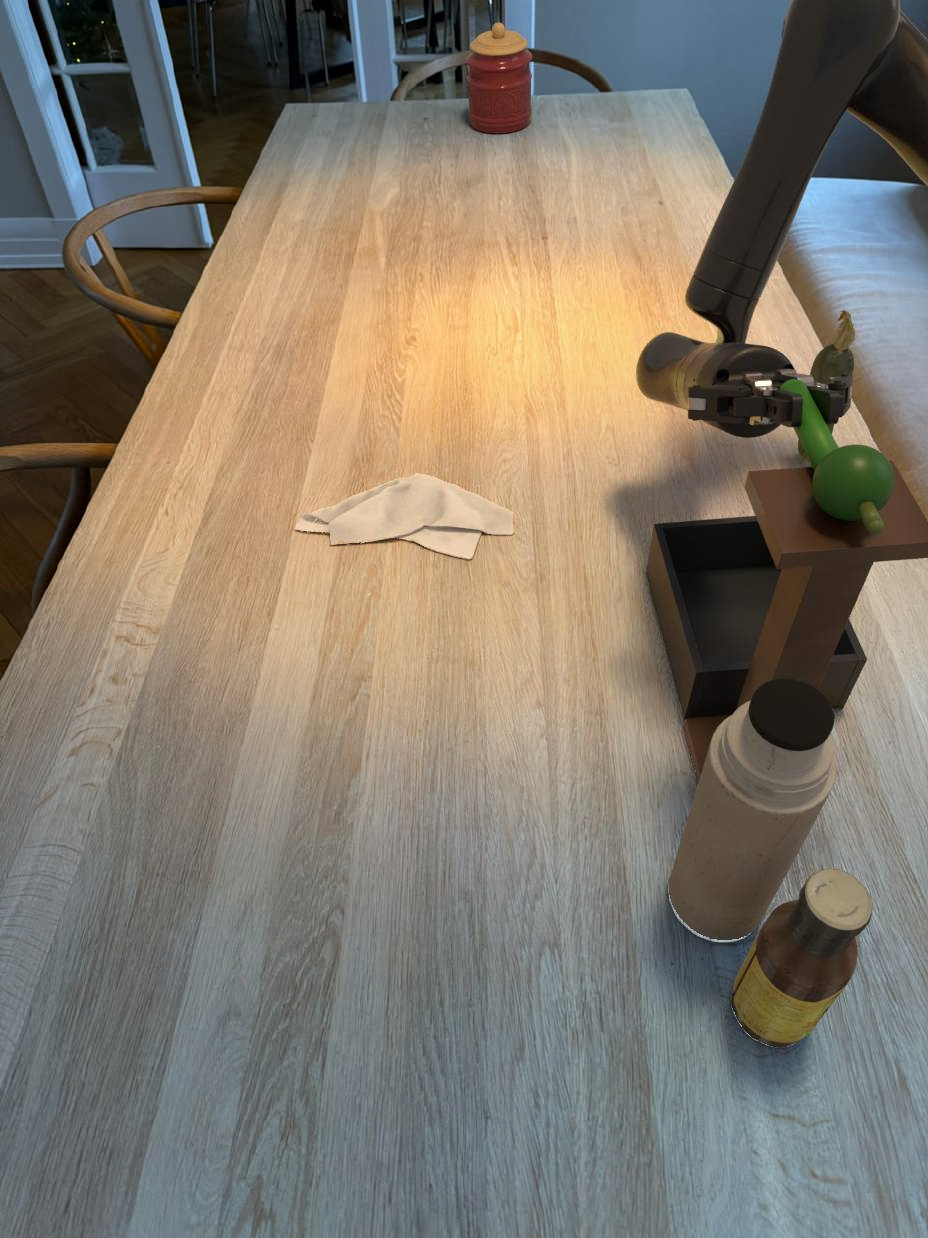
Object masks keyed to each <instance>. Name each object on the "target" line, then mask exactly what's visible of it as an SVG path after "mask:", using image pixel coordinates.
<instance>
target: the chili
mask: <svg viewBox="0 0 928 1238" xmlns="http://www.w3.org/2000/svg"><path fill="white" fill-rule="evenodd" d="M780 390H785V391H789V392H793V393H797V394H801V395H802V397H803V411H802V423H801V426H800V427H792V428H793V430H794V433H795V435H796V437H797V438H798V439H799V441H800V443H801V445H802V447H803V449H804V451H805V453H806V455H807V457H808V459H809V460H808V461H809V463H810V465H811V467H813V469H814V476H813V480H812V489H813V494H814V497H815V500H816V502H817V503H818V505H819V506H820V507H821V508H822V509H823V510H824V511H825V512H826V513H827V514H829V515H830V516H832V517H834V518H837V519H840V520H846V521H856V520H861V519H862V521H863V523H864V525H865V527H866V529H867V531H868V532H869V533H870V534H874V535H877V534H880V533H881V532H882V531H883V530H884V522H883V520H882V519H881V517H880V515H879V513H878V511H880V510H881V509H882V508H883V507H884V506H885V505H886V503H887V502H888V501H889V499H890V497H891V495H892V493H893V489H894V483H895V478H894V472H893V468H892V466H891V464H890V462H889V461H890V460H889V459H888V458H887V457H886V456H885V455H884V454H883V453H882V452H881V451H879V450H878V449H876V448H874V447H871V446H869V445H864V444H847V445H843V446H841V447H840V446H839V445H838V444H837V441H836V440H835V438H834V436H833V433H832V434H831V432H830V430H829V428H828V426H827V425H826V423H825V421H824V419H823V417H822V415H821V413H820V411H819V409H818V407H817V406H816V404H815V402H814V400H813V398H812V396H811V394H810V392H809V390H808V388H807V387H806V385H805V384H804V383H803V382H802V381H800V380H797V379H791V380H788V381H786V382H785V383H784V384H783V385H782V386H781V387H780Z"/></svg>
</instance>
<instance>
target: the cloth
mask: <svg viewBox="0 0 928 1238" xmlns="http://www.w3.org/2000/svg"><path fill="white" fill-rule="evenodd" d="M514 513H515V512H514V511H512V510H510V509H508V508H506V507H504V506H501V505H499V504H497V503H495V502H492V501H491V500H488V499H486V498H485V497H482V496H481V495H479V494H477V493H475V492H472V491H469V490H467V489H465V488H463V487H461V486H458V485H457V484H454V483H453V482H451V483H449V482H447V481H445V480H442V479H440V478H438V477H436V476H433V475H430V474H425V473H419V472H415V473H414V474H411V476H409V477H396V478H394V479H391V480H389V481H387V482H384V483H382V484H380V485H377V486H375V487H372V488H369V489H367V490H365V491H362V492H359V493H355V494H353V495H351V496H349V497H347V498H345V499H344V500H342V501H339V502H338V503H336V504H334V505H333V506H328V507H327V506H325V507H322V508H318V509H317V510H314V511H312V512H305V513H303V514H302V515H300V516H299V518H298V520H297V522H296V525H295V526H294V529H295V531H297V530H300V531H299V532H303V531H307V532H306V533H309V532H308V531H312V532H313V531H317V532H318V531H320V532H322V533H321V534H329V542H330V541H331V542H333V543H334V541H336V540H339V541H341V540H343V541H344V542H345V543H346V542H347V541H348V542H349V543H350V542H354V541H355V542H357V543H359V542H361V543H360V544H365V542H366V543H372V542H378V541H383V540H388V539H395V538H397V539H396V540H404V541H407V542H414V543H416V544H417V545H419V544H420V546H421V545H422V546H421V547H423V546H424V547H423V548H425V547H426V548H425V549H428V550H431V551H433V552H436V553H440V554H443V555H447V556H451V557H454V558H458V559H464V560H469V561H470V560H472V559H473V558H474V555H475V553H476V549H477V546H478V544H479V541H480V538H481V536H482V534H483V533H484V534H487V535H489V534H491V535H490V536H513V535H514V534H515V531H514V529H515V527H514ZM316 518H317V520H316V521H315V519H316ZM314 521H315V522H314ZM313 522H314V523H313ZM320 522H321V523H320ZM318 523H320V524H319V525H318V526H317V524H318ZM316 526H317V527H316ZM314 529H315V530H314ZM323 532H325V533H323ZM513 533H514V534H513ZM398 538H399V539H398Z"/></svg>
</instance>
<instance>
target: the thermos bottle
mask: <svg viewBox="0 0 928 1238" xmlns="http://www.w3.org/2000/svg"><path fill="white" fill-rule="evenodd" d="M835 723H836V721H835V712H834V709H833V708H832V706H831V704H830V702H829V701H828V699H827V698H826V697H825V696H824V695H823V694H822V693H821V692H820V691H819V690H817V689H816V688H814V687H813V686H811V685H809V684H807V683H805V682H802V681H798V680H794V679H775V680H771V681H768V682H766V683H764V684H762V685H761V686H760V687H759V688H758V689H757V690H756V691H755V692H754V694H753V696H752V698H751V701H748V702H746V703H745V704H743V705H741V706H740V707H739V708H738V709H737V710H736V711H735V712H734V713H733V715H731V716H730V717H728V718H726V719H725V720H724V721H723V722H722V723H721V724H720V725H719V726H718V728H717V729H716V731H715V732H714V734H713V737H712V740H711V743H710V746H709V749H708V752H707V756H706V759H705V763H704V766H703V770H702V773H701V776H700V779H699V783H698V782H697V786H696V788H695V792H694V796H693V798H692V803H691V806H690V809H689V813H688V816H687V818H686V822H685V826H684V829H683V832H682V834H681V835H682V836H681V838H680V843H679V846H678V849H677V851H676V855H675V859H674V862H673V865H672V869H671V872H670V875H669V878H668V882H669V895H670V899H671V902H672V905H673V907H674V909H675V910H676V912H677V914H678V915H679V917H680V918H681V919H682V920H683V922H685V923H686V924H687V925H688V926H689V927H690V928H691V929H693V930H694V931H696V932H697V933H699V934H701V935H703V936H706V937H709V938H710V939H717V940H732V939H739V938H741V937H744V936H747V935H748V934H749V933H751V932H753V931H754V930H755V929H756V928H757V927H758V928H759V926H760V924H761V923H762V921H763V919H764V918H765V915H766V913H767V912H768V909H769V908H770V905H772V902H773V900H774V898H775V896H776V895H777V893H778V891H779V889H780V887H781V885H782V883H783V881H784V879H786V876H787V874H788V872H789V870H790V868H791V867H792V865H793V863H794V861H795V860H796V857H797V856H798V853H799V852H800V850H801V848H802V847H803V845H804V843H805V842H806V839H807V837H808V835H809V833H810V832H811V829H812V828H813V826H814V824H815V822H816V820H817V818H818V816H819V815H820V813H821V811H822V809H823V807H824V805H825V803H827V800H828V798H829V796H830V794H831V792H832V791H833V789H834V787H835V783H836V779H837V762H836V759H835V758H836V757H835V742H834V737H833V735H832V731H833V729H834V725H835ZM758 925H759V926H758ZM758 928H757V929H758ZM757 929H756V930H757ZM756 930H755V931H756ZM755 931H754V932H755ZM754 932H753V933H754Z"/></svg>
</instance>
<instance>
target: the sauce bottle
mask: <svg viewBox="0 0 928 1238" xmlns="http://www.w3.org/2000/svg"><path fill="white" fill-rule="evenodd" d="M873 909H874V908H873V900H872V897H871V894H870V893H869V891H868V889H867V887H866V886H865V885H863V884H862V882H860V880H859V879H858V878H857V877H855V876H854V875H853V874H851V873H848V872H846V871H843V870H840V869H837V868H824V869H820V870H817V871H815V872H814V873H813V874H811V875H810V876H809V878H808V879H807V880H806V881H805V883H804V885H803V886H802V887H801V888H800V891H799V894H798V899H795V900H789V901H787V902H784V903H782V904H780V905H778V906H776V908H774V909H773V910H772V911H771V912H770V914H769V915H768V917H767V918H766V920H765V922H764V924H762V926H761V928H760V929H759V930H758V933H757V934H756V937H755V939H754V941H753V942H752V944H751V946H750V949H749V950H748V952H747V955H746V957H745V958H744V960H743V962H742V964H741V966H740V968H739V970H738V972H737V974H736V976H735V978H734V982H733V988H732V990H733V991H732V990H731V995H732V1000H731V999H730V1007H731V1006H732V1008H733V1011H734V1012H735V1015H736V1018H737V1020H738V1021H739V1023H740V1024H741V1025H742V1028H743V1029H744V1030H745V1031H746V1032H747V1033H748V1034H749V1035H750V1036H751V1037H752V1038H754V1039H756V1040H758V1041H759V1042H762V1043H764V1044H767V1045H769V1046H773V1047H780V1048H788V1047H787V1046H789V1047H791V1045H792V1044H794V1043H795V1044H796V1043H798V1042H799V1041H800V1042H801V1040H803V1039H805V1038H806V1037H807V1036H808V1035H810V1034H811V1033H812V1031H814V1029H815V1028H816V1026H817V1025H818V1023H819V1022H820V1021H821V1019H822V1018H823V1016H824V1015H825V1014H826V1013H827V1011H829V1009H830V1007H831V1006H832V1005H833V1003H834V1002H835V1001H836V1000H837V998H838V997H839V996H840V995H841V993H842V992H843V990H845V988H846V987H847V986H848V984H849V983H850V981H851V980H852V978H853V976H854V974H855V971H856V968H857V963H858V955H859V950H858V943H857V939H856V937H858V936H859V935H860V934H861V933H862V932H864V930H865V929H866V927H868V925H869V924H870V923H871V920H872V916H873ZM732 1008H731V1009H732ZM742 1028H741V1029H742ZM743 1029H742V1030H743ZM752 1038H751V1039H752ZM759 1042H758V1043H759ZM764 1044H763V1045H764ZM795 1044H794V1045H795ZM769 1046H768V1047H769ZM792 1046H793V1045H792Z"/></svg>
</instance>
